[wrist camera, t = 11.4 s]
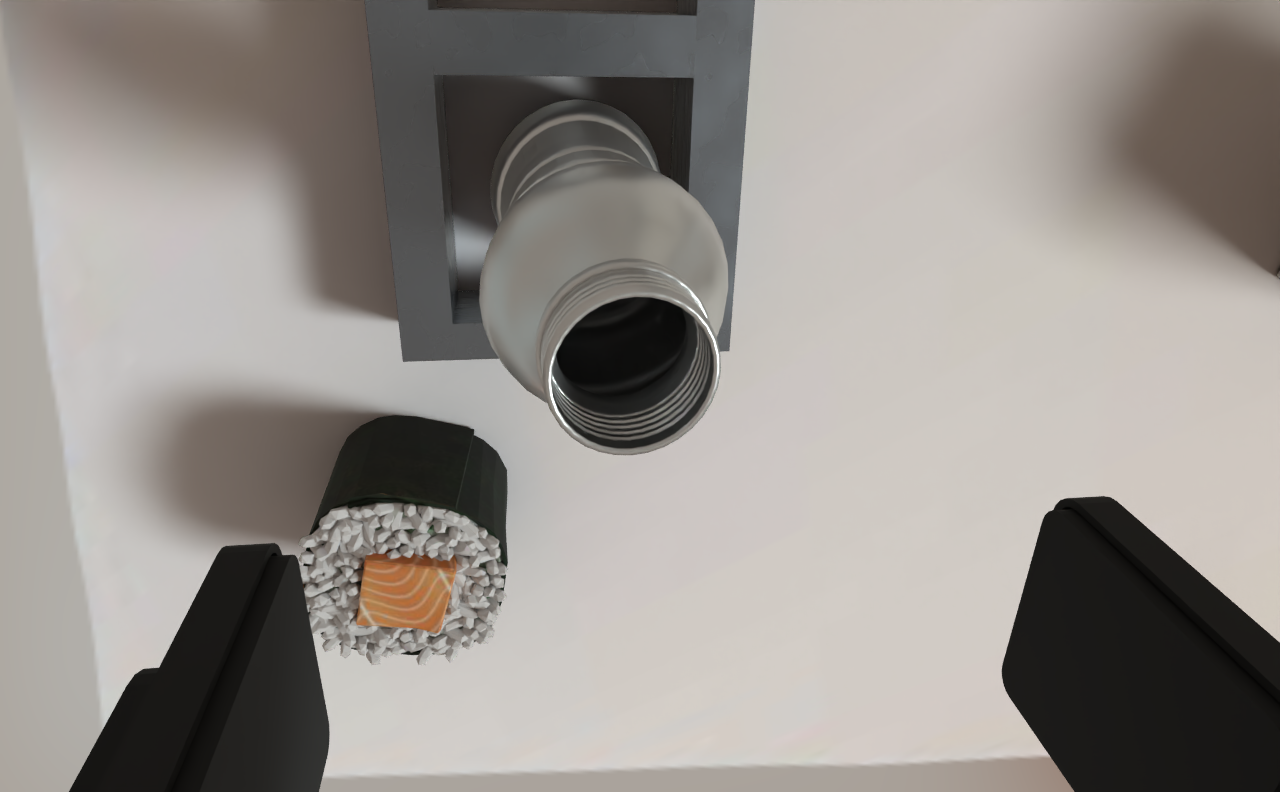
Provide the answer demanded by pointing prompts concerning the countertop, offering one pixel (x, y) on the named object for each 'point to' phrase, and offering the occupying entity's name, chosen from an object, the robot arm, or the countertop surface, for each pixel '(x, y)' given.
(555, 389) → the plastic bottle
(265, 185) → the countertop surface
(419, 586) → the sushi
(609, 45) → the tray
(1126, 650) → the robot arm
